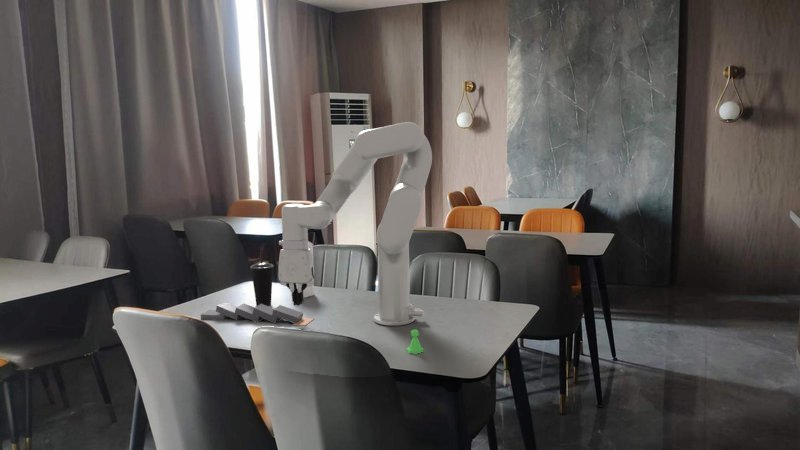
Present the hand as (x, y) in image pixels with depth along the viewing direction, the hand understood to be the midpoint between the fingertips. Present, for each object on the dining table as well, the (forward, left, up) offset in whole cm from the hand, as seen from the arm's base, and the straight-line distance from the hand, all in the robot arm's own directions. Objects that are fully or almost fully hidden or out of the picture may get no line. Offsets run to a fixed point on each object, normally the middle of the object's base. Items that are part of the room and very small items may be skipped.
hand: (298, 304), depth 184 cm
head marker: (-2, 0, -6) cm, 6 cm away
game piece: (-40, +19, -6) cm, 45 cm away
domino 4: (+6, 0, -5) cm, 8 cm away
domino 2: (+19, 0, -5) cm, 20 cm away
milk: (+12, -31, -6) cm, 34 cm away
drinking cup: (+20, -16, -6) cm, 26 cm away
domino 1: (+24, 0, -5) cm, 25 cm away
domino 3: (+12, 0, -5) cm, 13 cm away
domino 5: (0, 0, -4) cm, 4 cm away
